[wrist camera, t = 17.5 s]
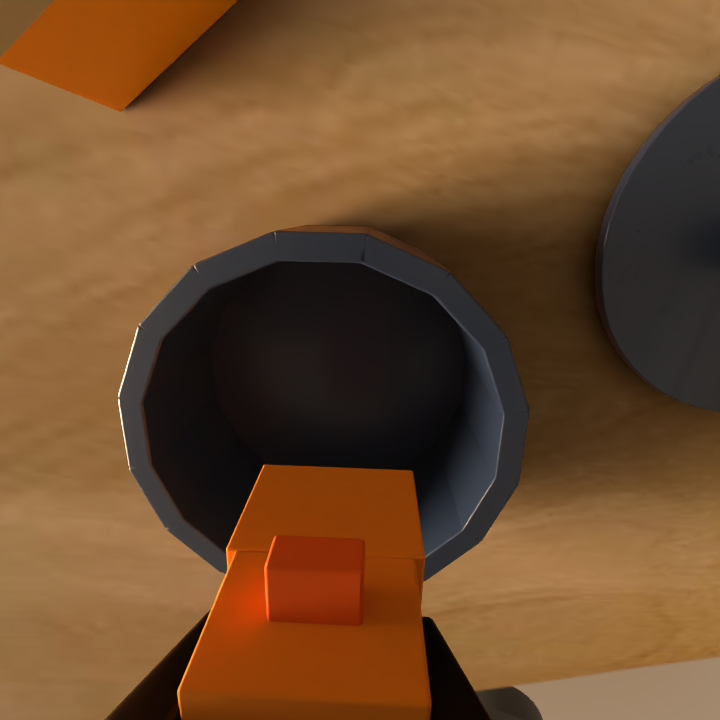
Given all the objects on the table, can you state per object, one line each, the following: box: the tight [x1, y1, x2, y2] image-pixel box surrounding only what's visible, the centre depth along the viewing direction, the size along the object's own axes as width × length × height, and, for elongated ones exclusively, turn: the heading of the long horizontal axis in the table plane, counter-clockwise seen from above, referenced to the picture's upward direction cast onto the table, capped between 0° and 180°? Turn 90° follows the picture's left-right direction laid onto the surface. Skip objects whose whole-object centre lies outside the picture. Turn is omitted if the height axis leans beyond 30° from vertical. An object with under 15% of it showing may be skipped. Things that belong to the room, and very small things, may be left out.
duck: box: [177, 464, 432, 720], centre depth 10 cm, size 6×4×6 cm, turn 179°
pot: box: [118, 225, 530, 582], centre depth 17 cm, size 13×13×6 cm
